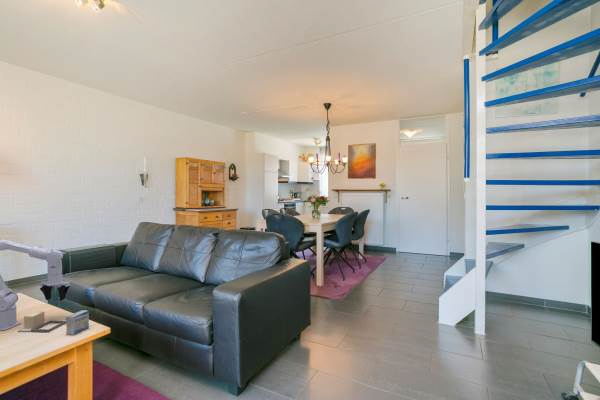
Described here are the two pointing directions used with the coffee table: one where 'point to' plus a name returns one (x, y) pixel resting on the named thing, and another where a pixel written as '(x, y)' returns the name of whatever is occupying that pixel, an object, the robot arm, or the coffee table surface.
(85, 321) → the medicine box
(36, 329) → the grey square frame
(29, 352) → the coffee table surface
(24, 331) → the pad
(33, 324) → the box
